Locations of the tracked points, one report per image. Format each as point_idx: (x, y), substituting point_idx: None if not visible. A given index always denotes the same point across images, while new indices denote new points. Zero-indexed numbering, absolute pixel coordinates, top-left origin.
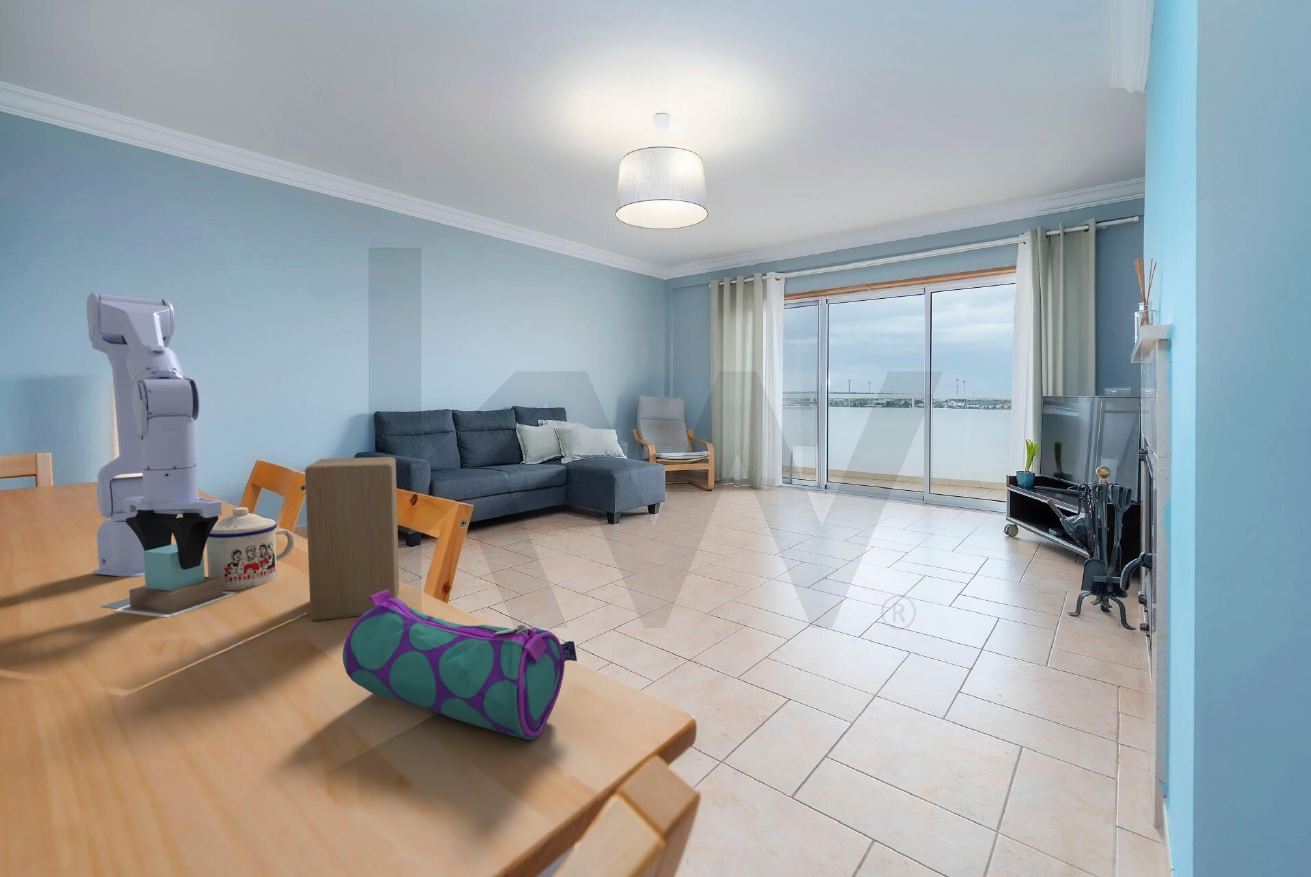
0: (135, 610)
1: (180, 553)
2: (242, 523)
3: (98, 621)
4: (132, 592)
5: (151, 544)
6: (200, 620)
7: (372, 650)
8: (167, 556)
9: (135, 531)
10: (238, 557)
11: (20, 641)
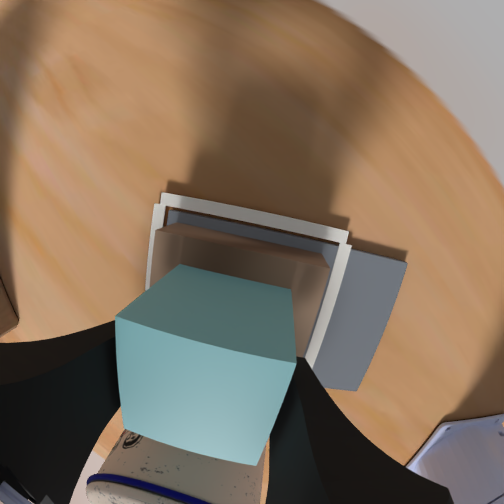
0: (290, 235)
1: (99, 334)
2: None
3: (341, 177)
4: (316, 264)
5: (295, 420)
6: (100, 201)
7: None
8: (136, 313)
9: (379, 461)
10: (132, 432)
11: (394, 67)
